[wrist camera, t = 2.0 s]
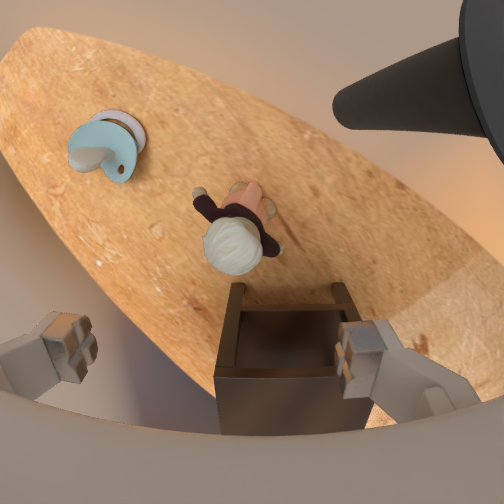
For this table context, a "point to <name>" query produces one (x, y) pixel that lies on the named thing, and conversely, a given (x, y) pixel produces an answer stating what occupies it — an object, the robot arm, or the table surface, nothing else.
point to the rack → (284, 369)
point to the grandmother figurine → (237, 228)
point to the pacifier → (106, 145)
